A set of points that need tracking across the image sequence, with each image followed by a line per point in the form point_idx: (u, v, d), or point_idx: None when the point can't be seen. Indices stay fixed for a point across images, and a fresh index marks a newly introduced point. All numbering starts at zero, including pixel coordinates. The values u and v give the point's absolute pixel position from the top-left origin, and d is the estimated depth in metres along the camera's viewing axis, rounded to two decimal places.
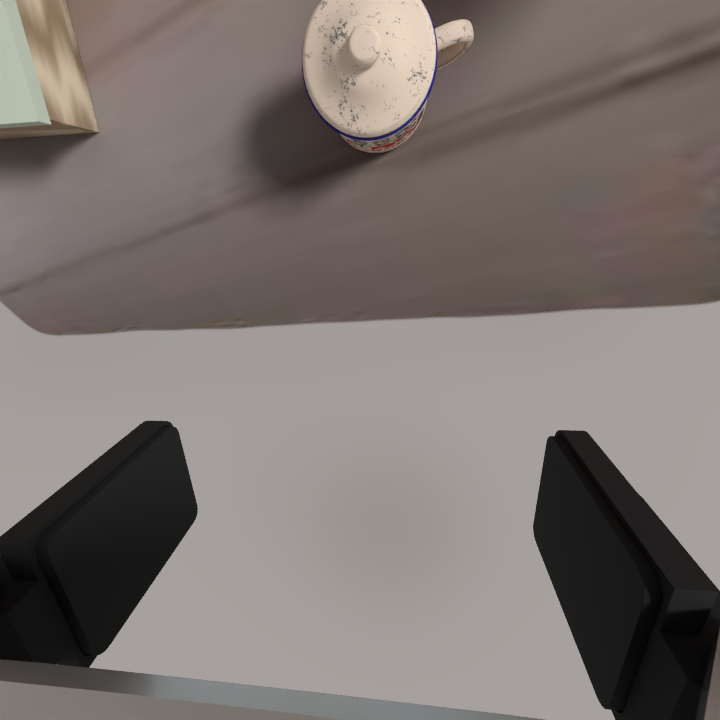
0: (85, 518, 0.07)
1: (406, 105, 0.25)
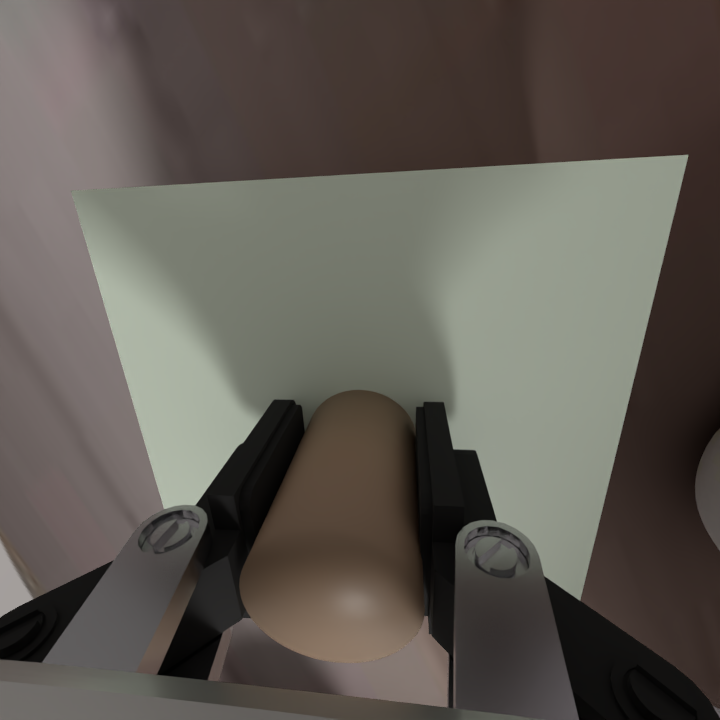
0: (264, 479, 0.08)
1: None
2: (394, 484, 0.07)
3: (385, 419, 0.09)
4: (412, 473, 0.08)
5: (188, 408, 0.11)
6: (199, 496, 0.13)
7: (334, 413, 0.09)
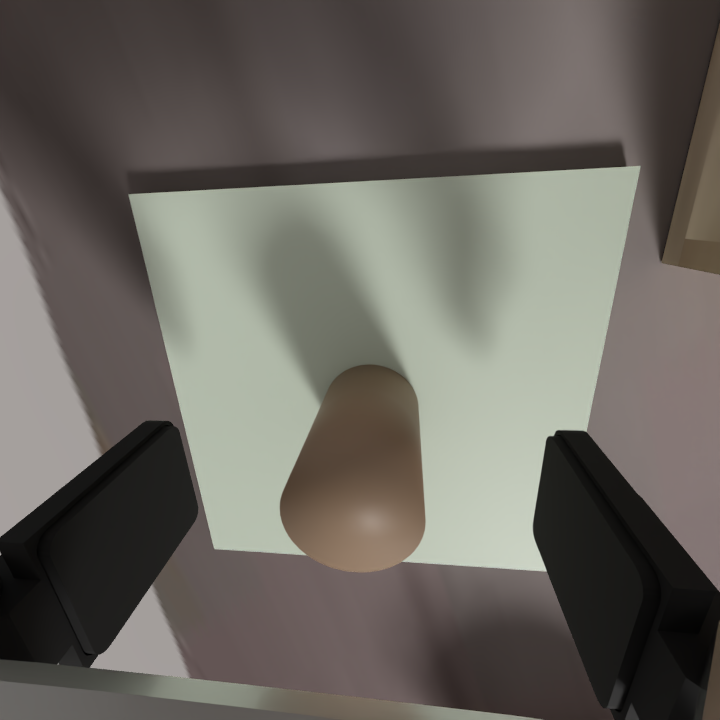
0: (86, 518, 0.07)
1: None
2: (401, 432, 0.09)
3: (392, 387, 0.11)
4: (415, 428, 0.10)
5: (221, 382, 0.13)
6: (227, 461, 0.14)
7: (349, 382, 0.11)
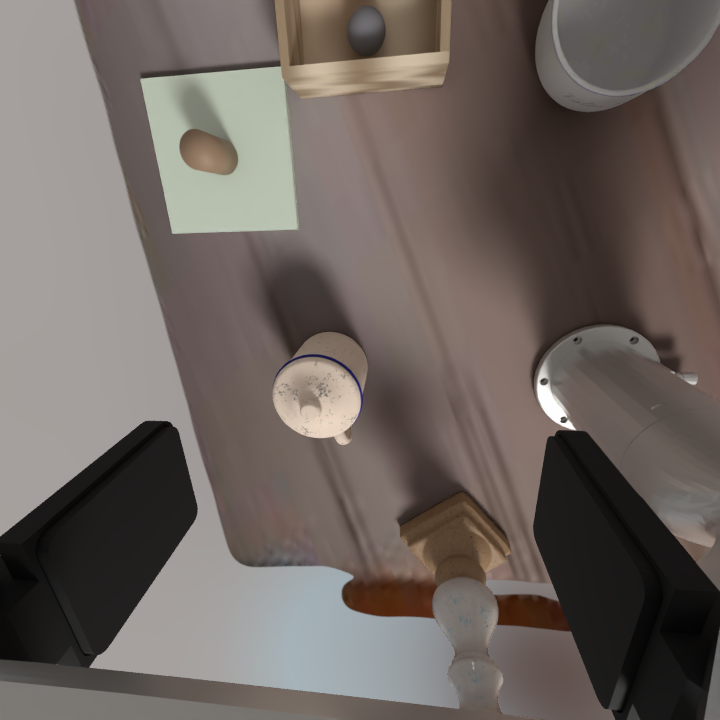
0: (85, 518, 0.07)
1: (290, 423, 0.38)
2: (214, 137, 0.34)
3: (222, 138, 0.36)
4: (224, 144, 0.35)
5: (171, 150, 0.38)
6: (175, 186, 0.39)
7: None
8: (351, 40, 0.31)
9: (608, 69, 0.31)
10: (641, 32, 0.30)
